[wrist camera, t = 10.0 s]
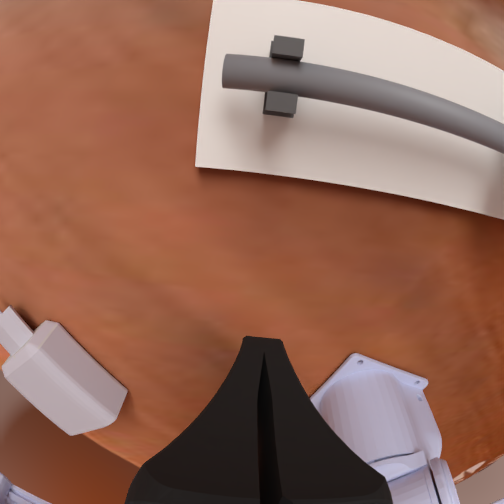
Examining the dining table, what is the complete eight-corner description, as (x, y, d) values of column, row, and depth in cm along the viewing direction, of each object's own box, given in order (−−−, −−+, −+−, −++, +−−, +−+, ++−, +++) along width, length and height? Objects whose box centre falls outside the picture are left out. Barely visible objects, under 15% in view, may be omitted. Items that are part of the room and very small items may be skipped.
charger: (16, 263, 22) (130, 385, 27) (-15, 306, 24) (81, 405, 29) (-17, 291, 17) (115, 424, 22) (-40, 332, 20) (66, 437, 25)
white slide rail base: (574, 123, 14) (619, 136, 9) (552, 231, 18) (592, 260, 13) (216, -1, 14) (198, -41, 9) (198, 163, 18) (172, 186, 13)
